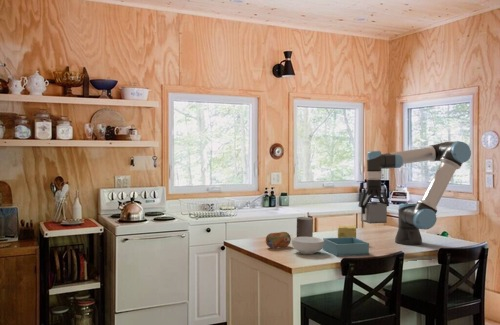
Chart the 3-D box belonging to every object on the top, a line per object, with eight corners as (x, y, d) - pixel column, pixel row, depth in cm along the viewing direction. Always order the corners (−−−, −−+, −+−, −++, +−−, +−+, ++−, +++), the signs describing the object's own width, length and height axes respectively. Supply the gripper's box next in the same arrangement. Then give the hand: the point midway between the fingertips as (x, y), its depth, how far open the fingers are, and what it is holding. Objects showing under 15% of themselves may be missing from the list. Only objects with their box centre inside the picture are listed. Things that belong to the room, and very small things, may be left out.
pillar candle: (293, 241, 286) (293, 215, 286) (302, 238, 294) (302, 214, 293) (306, 243, 280) (307, 217, 279) (315, 240, 288) (316, 215, 287)
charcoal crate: (377, 220, 272) (377, 202, 271) (386, 222, 262) (386, 204, 262) (361, 220, 269) (361, 202, 269) (369, 223, 259) (370, 204, 259)
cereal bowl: (301, 257, 243) (301, 243, 243) (286, 250, 258) (286, 237, 258) (330, 254, 250) (330, 240, 250) (313, 248, 265) (313, 235, 265)
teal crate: (353, 247, 267) (353, 237, 267) (368, 254, 250) (368, 243, 250) (322, 249, 263) (322, 238, 263) (336, 256, 245) (336, 244, 245)
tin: (267, 249, 263) (267, 233, 263) (264, 247, 266) (264, 232, 266) (291, 246, 270) (291, 231, 270) (288, 245, 273) (288, 230, 273)
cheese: (356, 246, 273) (356, 228, 273) (337, 245, 275) (337, 227, 275) (356, 242, 283) (356, 225, 283) (337, 241, 286) (337, 224, 285)
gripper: (388, 178, 271) (388, 217, 272) (351, 179, 266) (351, 219, 266) (396, 179, 264) (395, 219, 265) (358, 179, 258) (358, 221, 259)
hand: (373, 219), depth 265 cm, fingers closed on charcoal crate, 10 cm apart
